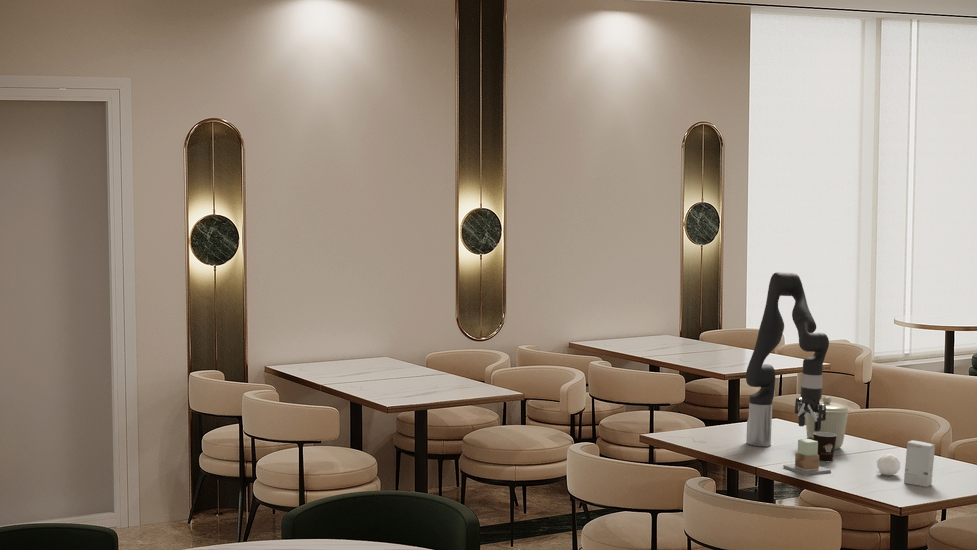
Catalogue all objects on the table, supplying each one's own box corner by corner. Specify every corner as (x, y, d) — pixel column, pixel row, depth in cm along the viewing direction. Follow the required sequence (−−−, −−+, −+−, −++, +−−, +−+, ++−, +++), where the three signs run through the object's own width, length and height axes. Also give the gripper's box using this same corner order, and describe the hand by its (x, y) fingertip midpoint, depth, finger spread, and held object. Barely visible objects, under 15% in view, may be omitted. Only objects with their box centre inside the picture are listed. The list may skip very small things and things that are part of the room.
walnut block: (794, 466, 378) (795, 452, 377) (807, 464, 380) (808, 451, 380) (805, 469, 372) (806, 456, 372) (818, 468, 374) (819, 455, 374)
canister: (857, 450, 410) (860, 399, 409) (821, 453, 404) (824, 401, 402) (827, 441, 427) (829, 391, 426) (792, 444, 420) (794, 393, 419)
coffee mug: (835, 458, 396) (836, 433, 395) (835, 463, 388) (836, 437, 387) (804, 455, 400) (805, 430, 399) (803, 460, 392) (804, 434, 391)
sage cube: (797, 453, 377) (798, 439, 377) (808, 452, 379) (808, 438, 379) (806, 456, 372) (807, 442, 372) (817, 454, 374) (818, 441, 374)
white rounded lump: (878, 468, 367) (864, 464, 379) (896, 481, 367) (881, 477, 379) (890, 450, 368) (876, 447, 379) (908, 464, 368) (893, 460, 380)
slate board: (783, 467, 379) (783, 464, 379) (808, 465, 384) (808, 462, 384) (805, 475, 368) (805, 472, 368) (830, 472, 373) (830, 469, 373)
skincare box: (903, 483, 360) (905, 441, 359) (909, 480, 365) (910, 439, 364) (928, 487, 355) (930, 445, 354) (933, 484, 359) (935, 443, 358)
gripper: (832, 389, 372) (830, 432, 373) (806, 381, 385) (804, 423, 386) (816, 390, 369) (814, 433, 370) (790, 382, 382) (788, 425, 383)
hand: (809, 428), depth 378 cm, fingers open, 8 cm apart
